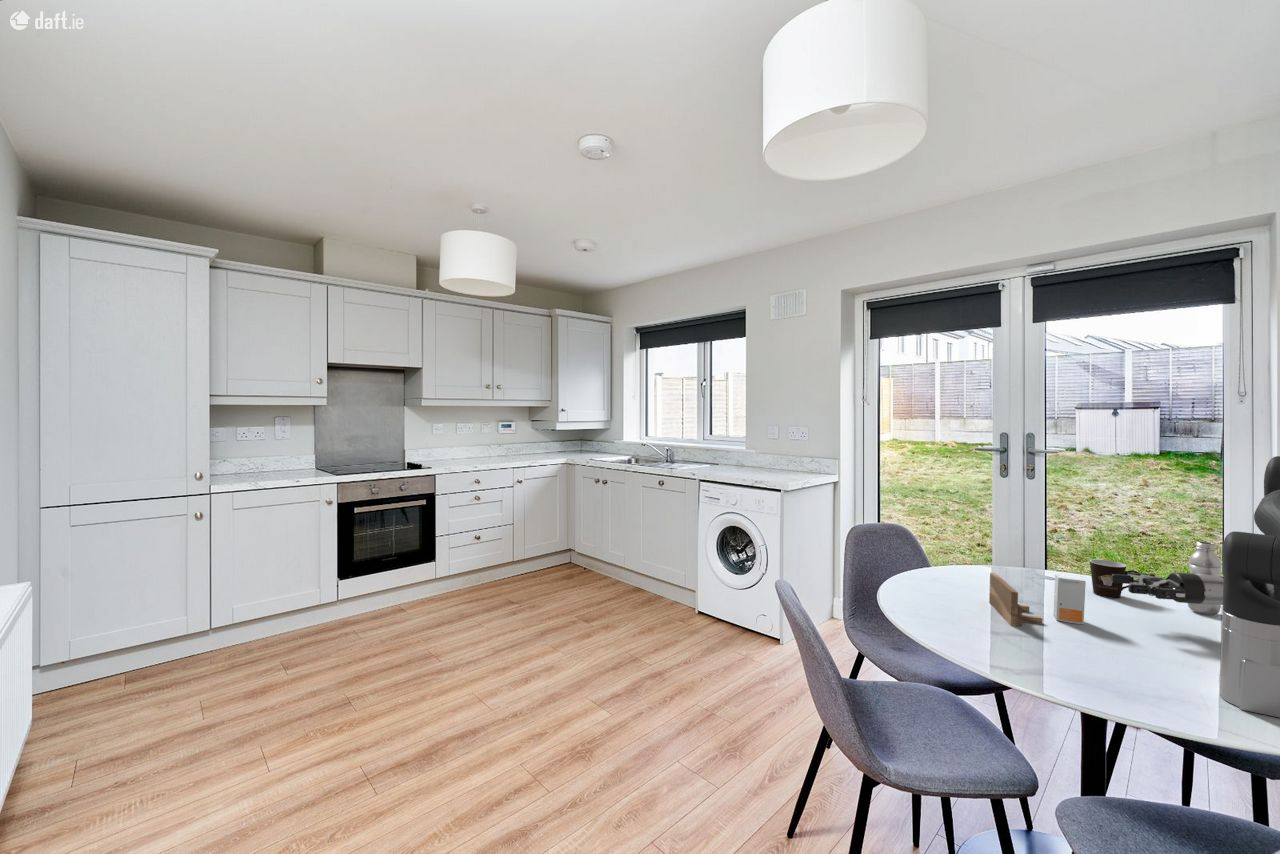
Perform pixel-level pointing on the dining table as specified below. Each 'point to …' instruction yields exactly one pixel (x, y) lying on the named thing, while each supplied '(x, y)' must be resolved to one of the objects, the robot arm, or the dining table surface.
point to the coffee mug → (1107, 577)
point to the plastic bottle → (1205, 571)
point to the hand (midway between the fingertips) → (1120, 583)
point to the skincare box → (1069, 598)
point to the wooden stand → (1008, 602)
